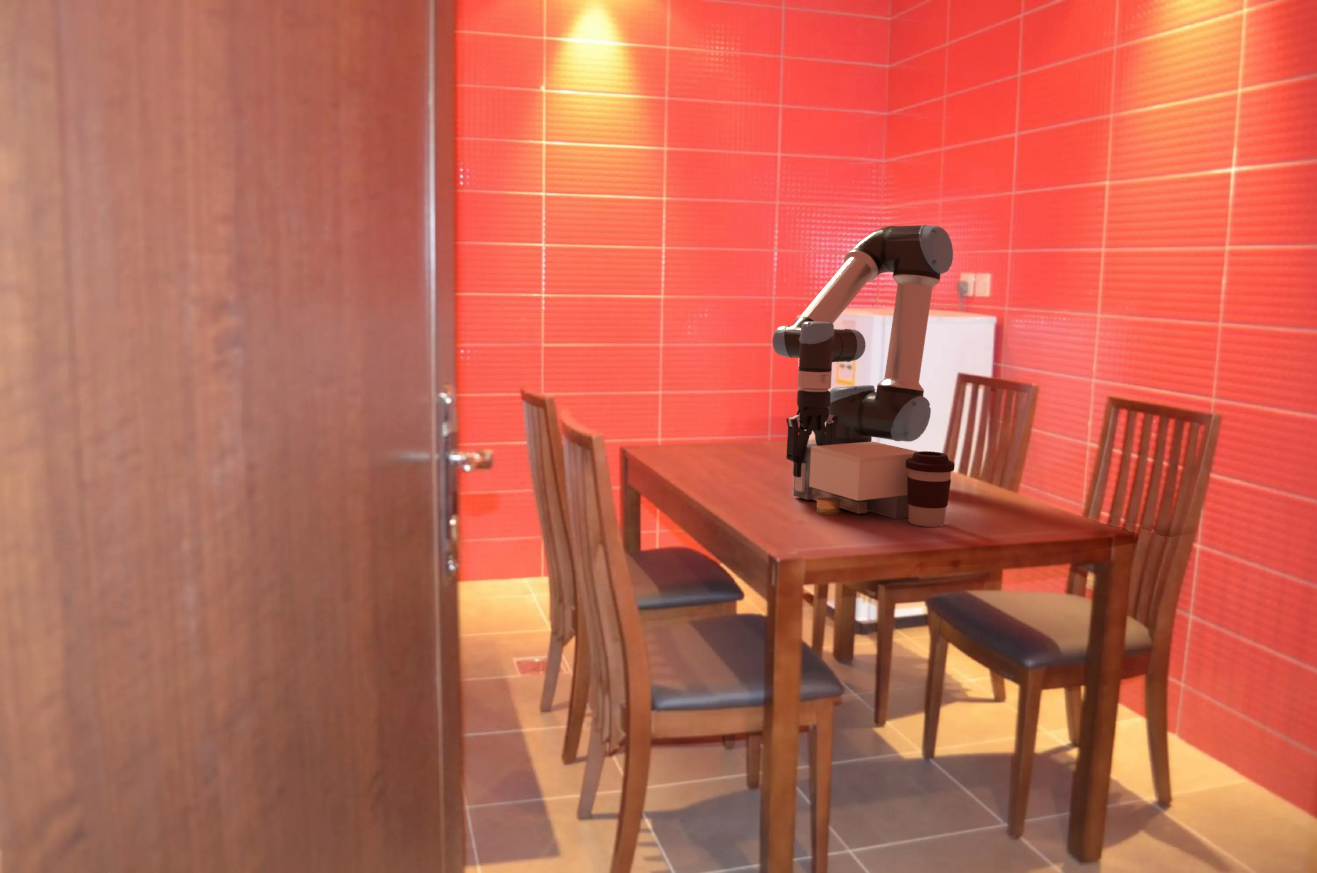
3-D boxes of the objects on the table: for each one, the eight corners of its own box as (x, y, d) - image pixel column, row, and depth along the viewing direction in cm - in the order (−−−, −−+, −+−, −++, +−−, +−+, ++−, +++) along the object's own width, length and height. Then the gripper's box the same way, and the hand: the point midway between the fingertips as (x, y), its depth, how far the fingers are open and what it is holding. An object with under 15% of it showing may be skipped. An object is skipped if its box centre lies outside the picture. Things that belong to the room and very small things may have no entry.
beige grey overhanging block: (808, 508, 234) (811, 446, 232) (869, 501, 243) (873, 441, 241) (856, 524, 220) (859, 458, 218) (919, 515, 230) (923, 452, 227)
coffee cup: (917, 530, 216) (921, 458, 214) (893, 519, 226) (897, 450, 224) (959, 528, 219) (964, 457, 217) (934, 517, 229) (939, 449, 226)
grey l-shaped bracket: (793, 495, 245) (795, 444, 243) (810, 493, 248) (812, 443, 246) (853, 514, 227) (856, 459, 225) (871, 512, 230) (874, 457, 228)
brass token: (811, 511, 231) (812, 498, 231) (829, 509, 234) (830, 496, 234) (826, 516, 227) (827, 503, 227) (844, 514, 230) (844, 501, 229)
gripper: (792, 392, 233) (788, 496, 236) (855, 390, 242) (850, 489, 245) (772, 389, 239) (768, 489, 242) (834, 386, 248) (829, 483, 252)
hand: (809, 489), depth 244 cm, fingers closed on grey l-shaped bracket, 5 cm apart
